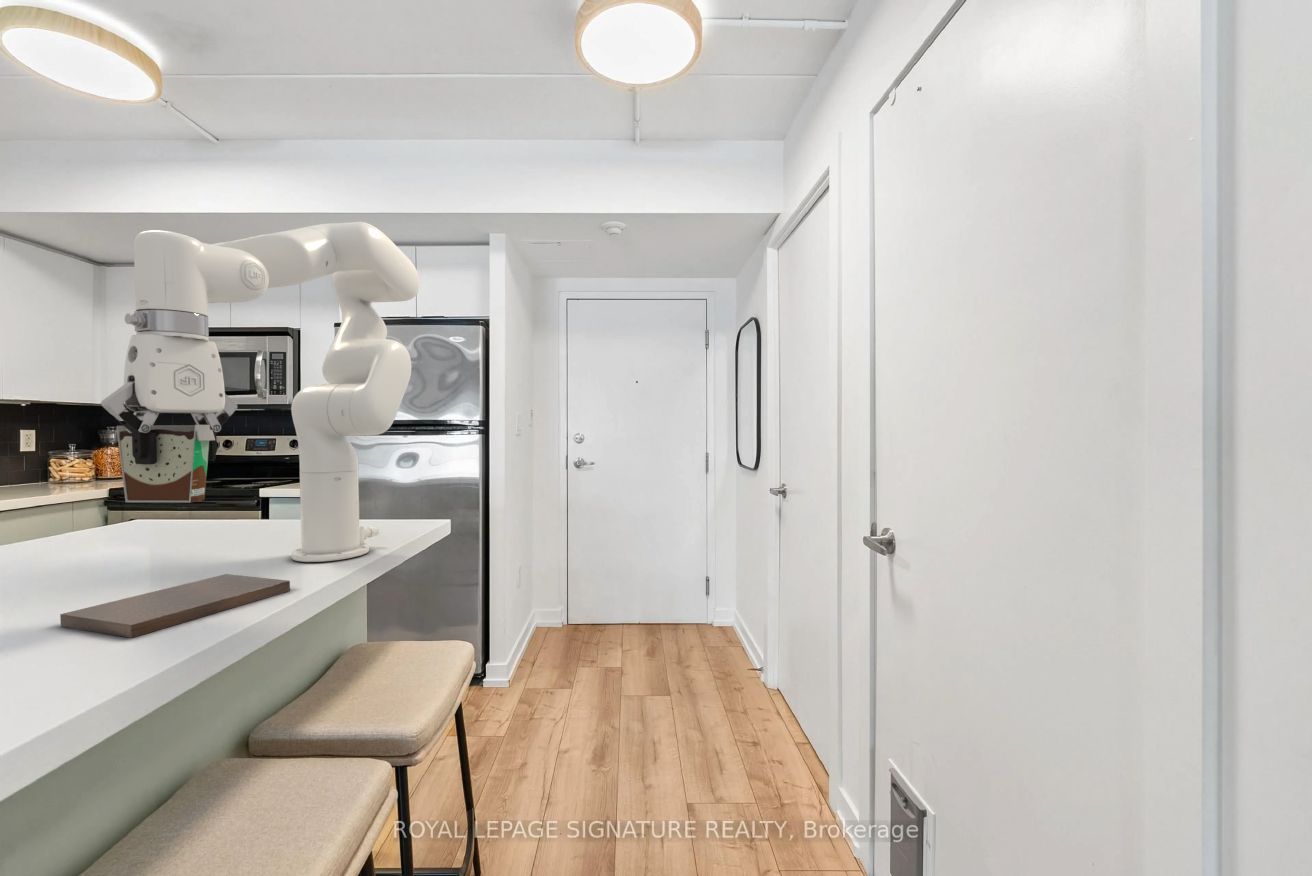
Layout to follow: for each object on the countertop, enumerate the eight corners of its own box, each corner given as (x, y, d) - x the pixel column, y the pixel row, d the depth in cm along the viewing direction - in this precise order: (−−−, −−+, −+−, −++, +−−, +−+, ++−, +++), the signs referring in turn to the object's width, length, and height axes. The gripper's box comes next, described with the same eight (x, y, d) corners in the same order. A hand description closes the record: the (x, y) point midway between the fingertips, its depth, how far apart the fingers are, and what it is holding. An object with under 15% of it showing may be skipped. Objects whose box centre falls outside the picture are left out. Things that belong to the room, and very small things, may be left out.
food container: (239, 496, 82) (237, 424, 82) (201, 502, 76) (199, 424, 76) (159, 496, 84) (157, 425, 83) (115, 502, 78) (113, 425, 77)
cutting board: (226, 583, 91) (226, 573, 91) (290, 590, 86) (290, 580, 86) (60, 626, 72) (59, 614, 72) (131, 638, 68) (130, 625, 67)
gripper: (113, 316, 70) (118, 467, 70) (256, 336, 86) (259, 458, 87) (74, 320, 72) (79, 466, 73) (220, 338, 89) (223, 458, 89)
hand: (177, 461), depth 80 cm, fingers closed on food container, 6 cm apart
